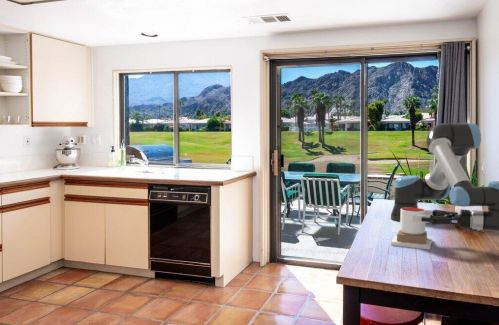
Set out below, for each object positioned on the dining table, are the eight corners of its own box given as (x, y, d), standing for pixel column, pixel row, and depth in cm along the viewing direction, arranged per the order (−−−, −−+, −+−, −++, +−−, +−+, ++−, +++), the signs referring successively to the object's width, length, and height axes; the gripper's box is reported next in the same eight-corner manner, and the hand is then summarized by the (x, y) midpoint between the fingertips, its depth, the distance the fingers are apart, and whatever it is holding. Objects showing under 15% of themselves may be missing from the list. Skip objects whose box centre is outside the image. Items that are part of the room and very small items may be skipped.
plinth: (395, 237, 198) (396, 227, 198) (432, 240, 192) (432, 230, 191) (391, 245, 185) (391, 234, 184) (429, 249, 178) (430, 238, 178)
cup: (428, 232, 188) (429, 209, 187) (419, 236, 181) (420, 212, 180) (406, 229, 195) (406, 206, 194) (396, 232, 188) (396, 209, 187)
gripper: (470, 235, 166) (411, 229, 176) (470, 222, 189) (417, 218, 198) (471, 215, 166) (411, 211, 175) (470, 205, 188) (417, 201, 197)
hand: (414, 215), depth 187 cm, fingers open, 13 cm apart
